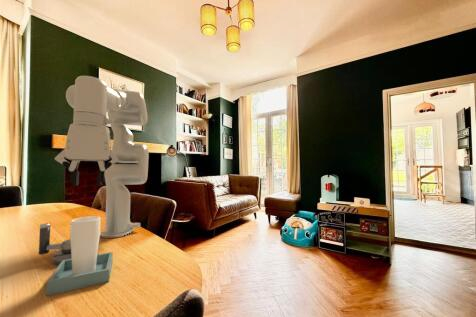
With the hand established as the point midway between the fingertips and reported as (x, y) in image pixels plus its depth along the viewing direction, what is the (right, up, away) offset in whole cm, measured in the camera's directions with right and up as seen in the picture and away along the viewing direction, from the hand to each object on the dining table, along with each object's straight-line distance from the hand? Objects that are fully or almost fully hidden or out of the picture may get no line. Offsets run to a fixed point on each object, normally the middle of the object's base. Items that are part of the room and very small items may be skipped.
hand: (87, 184), depth 56 cm
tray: (0, -25, -1) cm, 25 cm away
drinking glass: (0, -25, -1) cm, 25 cm away
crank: (-15, -23, +8) cm, 29 cm away
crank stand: (-15, -26, +12) cm, 32 cm away
